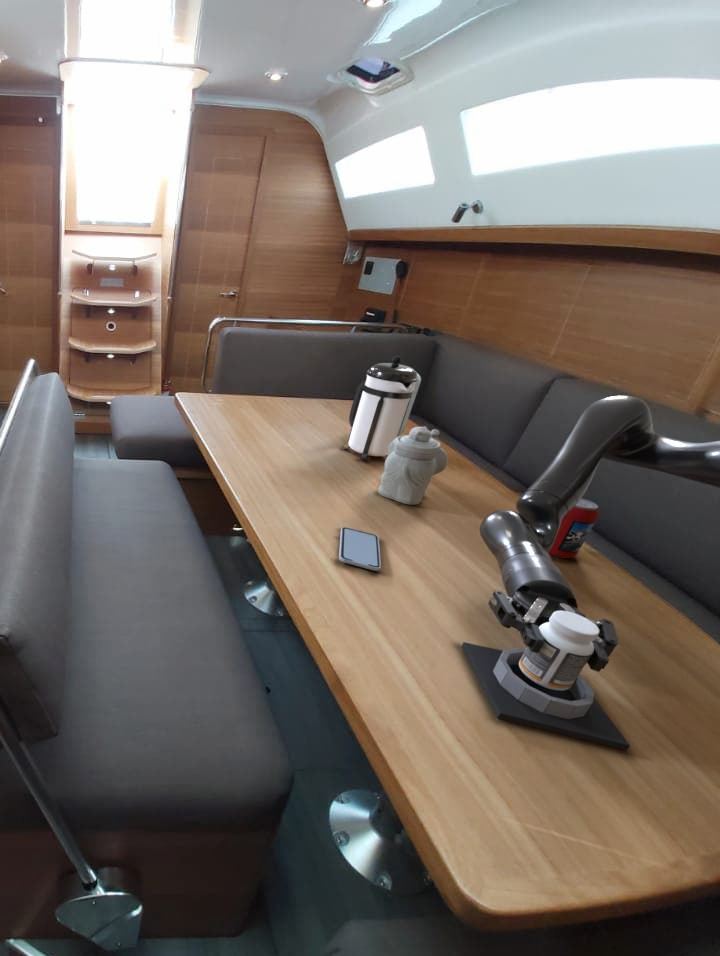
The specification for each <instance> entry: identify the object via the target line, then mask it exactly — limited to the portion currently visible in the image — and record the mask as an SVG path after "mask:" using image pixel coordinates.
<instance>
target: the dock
mask: <svg viewBox="0 0 720 956" xmlns="http://www.w3.org/2000/svg"><path fill="white" fill-rule="evenodd" d="M461 648H462V651H463V652H464V655H465V656H466V659H467V660H468V662H469V665H470V666H471V668H472V670H473V673H474V675H475V677H476V678H477V681H478V682H479V685H480V686H481V688H482V691H483V692H484V695H485V697H486V698H487V700H488V702H489V705H490V706H491V708H492V710H493V713H494V714H495V716H496V718H497V719H499V720H503V721H507V722H512V723H516V724H518V725H523V726H527V727H530V728H535V729H540V730H542V731H546V732H551V733H554V734H555V733H556V734H558V735H563V736H567V737H571V738H576V739H578V740H582V741H587V742H590V743H595V744H597V745H602V746H606V747H610V748H614V749H619V750H623V751H628V749H630V746H631V744H630V743H629V742H628V740H627V739H626V737H624V735H623V734H622V732H621V731H620V730H619V728H618V727H617V725H615V723H614V722H613V720H612V719H611V718H610V716H609V714H608V713H607V712H606V711H605V710H604V708H603V706H601V704H600V703H599V701H598V700H597V699H596V697H595V691H594V689H592V687H591V685H590V684H589V683H588V681H587V680H586V679H585V678H584V677H583V675H581V674H579V675H578V676H577V678H576V679H575V681H574V683H573V684H572V685H571V687H570V688H569V689H567V690H563V691H558V690H552V689H549V688H546V687H543V686H541V685H539V684H537V683H535V682H534V681H532V680H531V679H529V678H528V677H527V676H526V675H525V674H524V673H523V672H522V671H521V669H520V667H519V661H520V659H521V657H522V655H523V654H524V652H525V650H526V648H525V649H524V648H521V647H520V648H519V647H515V648H510V649H504V650H502V649H497V648H493V647H488V646H483V645H480V644H475V643H469V642H465V641H464V642H463V643H462V645H461Z"/></svg>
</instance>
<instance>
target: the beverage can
mask: <svg viewBox="0 0 720 956" xmlns="http://www.w3.org/2000/svg"><path fill="white" fill-rule="evenodd" d="M598 509H599V505H598V504H596V503H595V502H593V501H591V500H589V499H586V498H583V497H582V498H581V499H580V500H579V502H578V503H577V504H576V505H575V506H574V507H573V508H572V509H571V510H570V512H569V513H568V514H567V515H566V516H565V517H564V518H563V519H562V522H561V525H560V528H559V531H558V533H557V536H556V539H555V541H554V544H553V546H552V548H551V550H550V551H549V555H550V556H551V557H554V558H559V559H571V558H576V556H577V555H578V553H579V551H580V550H581V548H582V546H583V545H584V543H585V541H586V539H587V538H588V536H589V535H590V532H591V531H592V529H593V527H594V525H595V523H596V522H597V520H598V518H599V517H600V514H599V510H598Z"/></svg>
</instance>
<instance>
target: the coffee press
mask: <svg viewBox="0 0 720 956" xmlns="http://www.w3.org/2000/svg"><path fill="white" fill-rule="evenodd" d="M391 360H392V362H381V363H375V364H374V365H372V366H371V367H370V368H369V369H368V370H367V371H366V379H364V380H362V381H361V382H360V383H359V384H358V386H357V388H356V390H355V394H354V396H353V397H354V398H353V401H352V403H351V407H350V411H349V417H348V421H349V426H350V427H351V428H350V433H349V435H348V439H347V441H346V442H344V443H343V444H342V445H341V449H343V450H348V449H351V450H353V451H355V452H357V453H359V454H361V455H360V459H359V461H363V462H366V461H367V458H368V456H369V457H386V458H387V457H388V447H389V445H390V444H391V442H392V441H393V440H394V439H396V438H397V437H398V436H399V433H400V430H401V427H402V424H403V421H404V418H405V415H406V412H407V409H408V406H409V403H410V400H411V396H412V393H413V387H414V385H415V383H416V382H417V381H418V377H417V373H418V372H417V371H416V370H415V369H414V368H413V367H411V366H408V365H405V364H400V363H401V362H402V357H401V356H399V355H395V356H393V358H392V359H391ZM409 399H410V400H409ZM346 444H348V446H347V447H344V445H346Z"/></svg>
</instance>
